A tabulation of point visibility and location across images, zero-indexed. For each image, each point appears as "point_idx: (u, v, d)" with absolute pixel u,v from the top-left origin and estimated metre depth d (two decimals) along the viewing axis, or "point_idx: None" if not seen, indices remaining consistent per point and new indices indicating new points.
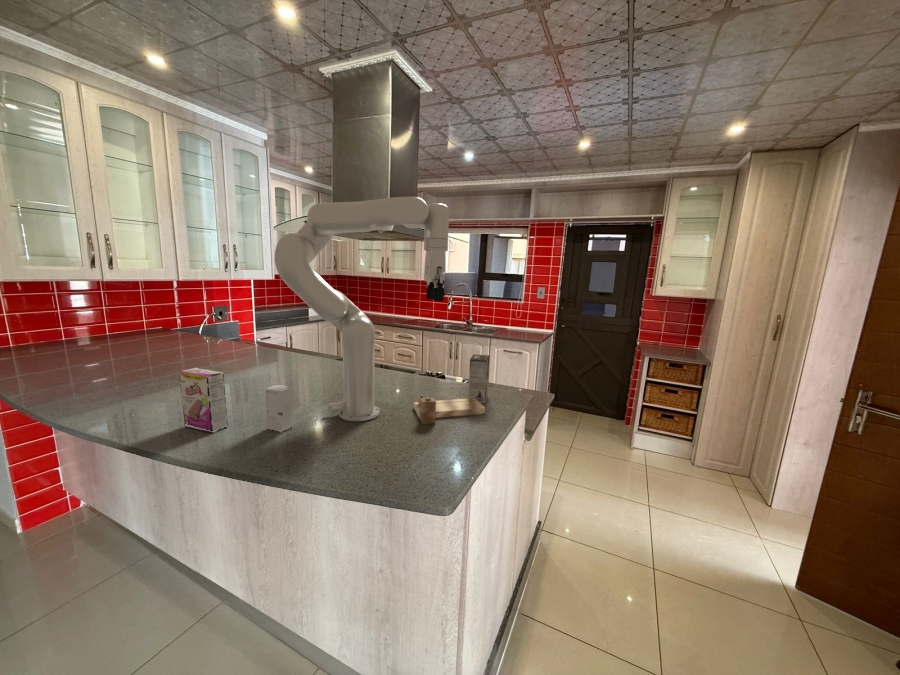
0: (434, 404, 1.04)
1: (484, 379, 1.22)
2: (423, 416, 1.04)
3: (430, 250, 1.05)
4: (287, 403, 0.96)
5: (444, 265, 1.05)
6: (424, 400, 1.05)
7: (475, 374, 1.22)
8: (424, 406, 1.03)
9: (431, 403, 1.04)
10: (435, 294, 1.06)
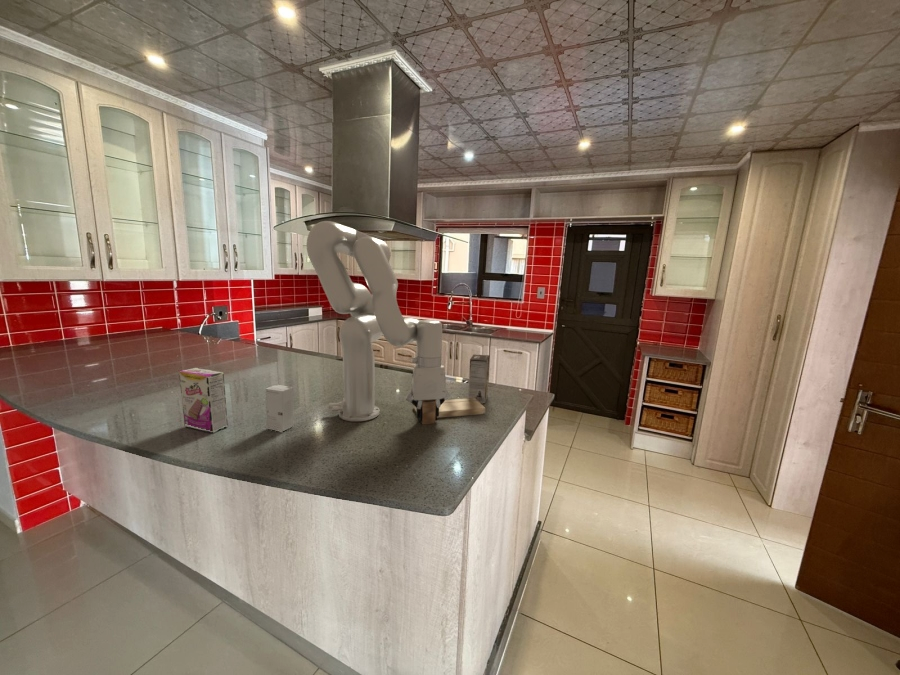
0: (434, 404, 1.04)
1: (484, 379, 1.22)
2: (423, 416, 1.04)
3: (440, 368, 1.02)
4: (287, 403, 0.96)
5: None
6: (424, 400, 1.05)
7: (475, 374, 1.22)
8: (424, 406, 1.03)
9: (431, 403, 1.04)
10: (437, 413, 1.06)
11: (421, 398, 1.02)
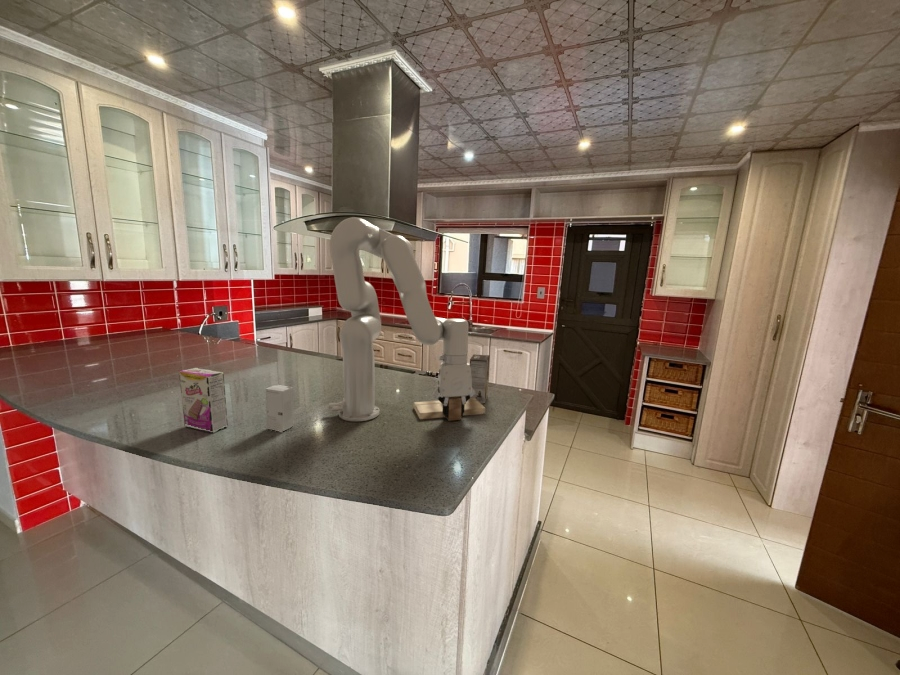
0: (460, 401, 1.06)
1: (484, 379, 1.22)
2: (449, 413, 1.06)
3: (466, 366, 1.04)
4: (287, 403, 0.96)
5: None
6: (450, 397, 1.07)
7: (475, 374, 1.22)
8: (450, 403, 1.06)
9: (457, 400, 1.06)
10: (462, 410, 1.08)
11: (448, 395, 1.04)
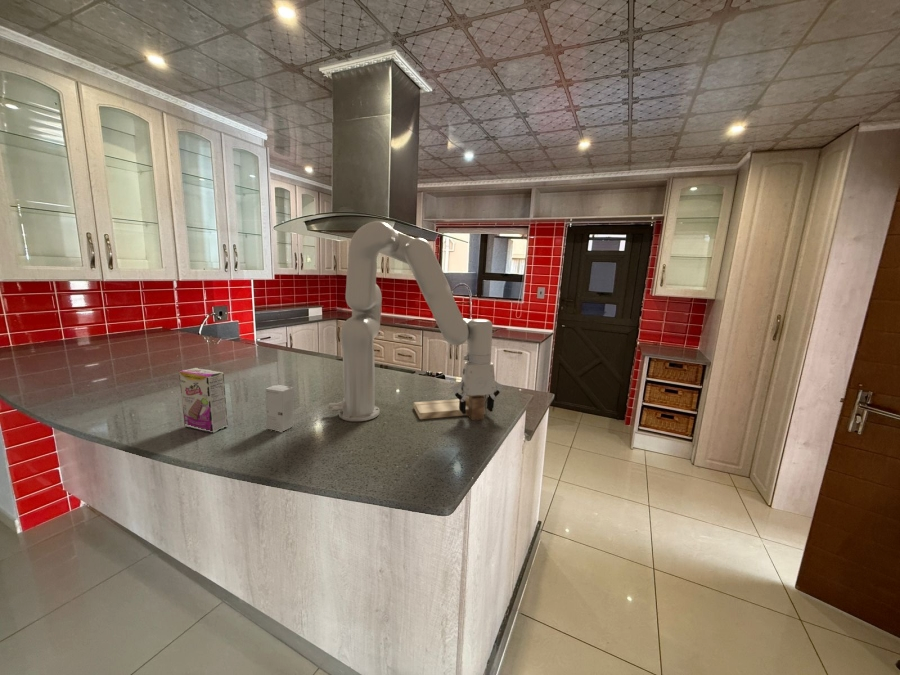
0: (483, 400, 1.09)
1: None
2: (473, 412, 1.08)
3: (490, 365, 1.07)
4: (287, 403, 0.96)
5: None
6: (473, 397, 1.09)
7: None
8: (474, 402, 1.08)
9: (480, 400, 1.08)
10: None
11: (472, 394, 1.06)
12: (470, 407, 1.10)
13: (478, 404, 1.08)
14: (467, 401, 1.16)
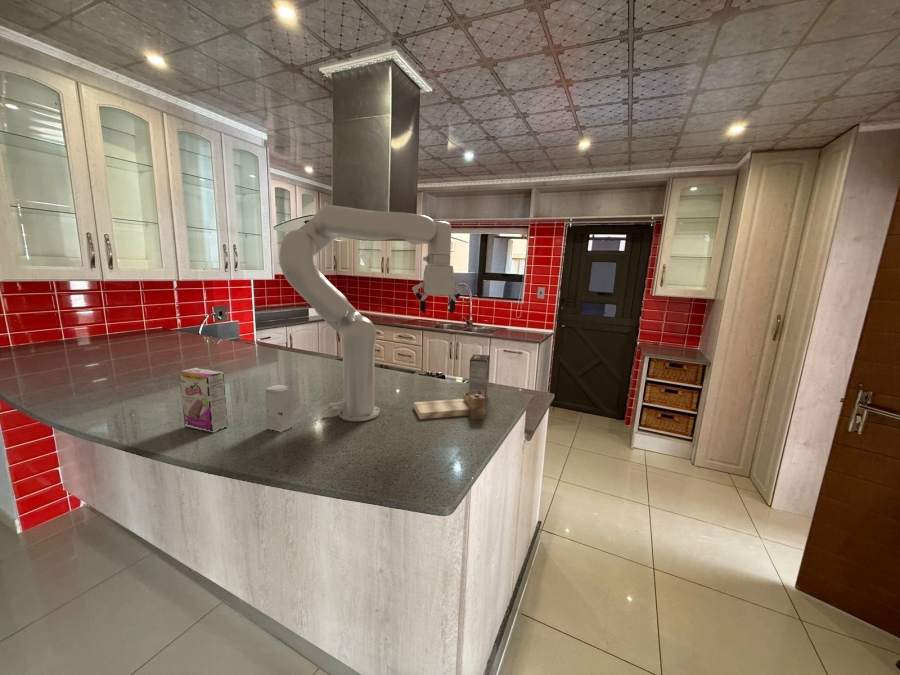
0: (483, 400, 1.09)
1: (484, 379, 1.22)
2: (473, 412, 1.08)
3: (449, 266, 1.12)
4: (287, 403, 0.96)
5: None
6: (473, 397, 1.09)
7: (475, 374, 1.22)
8: (474, 402, 1.08)
9: (480, 400, 1.08)
10: None
11: (432, 293, 1.12)
12: (470, 407, 1.10)
13: (478, 404, 1.08)
14: (467, 401, 1.16)
